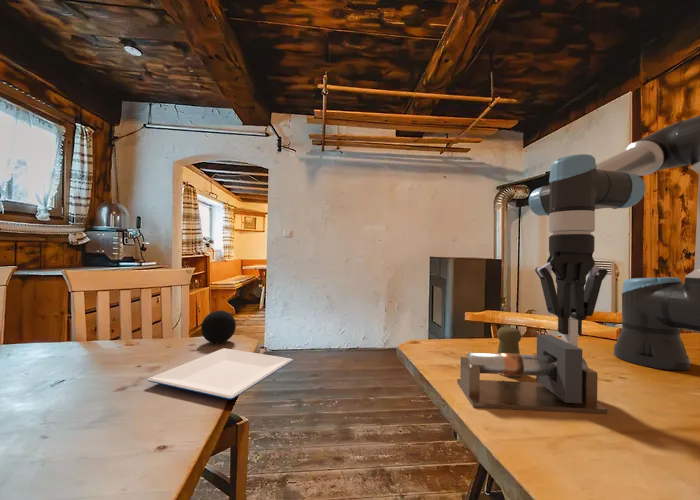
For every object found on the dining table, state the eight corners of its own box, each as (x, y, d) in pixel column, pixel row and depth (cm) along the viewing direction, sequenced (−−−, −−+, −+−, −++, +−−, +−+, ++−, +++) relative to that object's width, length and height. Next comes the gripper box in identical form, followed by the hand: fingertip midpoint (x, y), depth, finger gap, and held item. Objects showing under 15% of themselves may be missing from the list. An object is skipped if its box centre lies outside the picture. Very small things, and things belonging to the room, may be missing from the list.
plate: (145, 388, 65) (145, 378, 65) (223, 355, 86) (223, 347, 86) (231, 408, 57) (231, 397, 57) (293, 366, 78) (293, 358, 78)
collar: (550, 380, 67) (551, 334, 67) (581, 403, 57) (582, 349, 57) (536, 380, 67) (536, 334, 67) (564, 402, 57) (565, 348, 57)
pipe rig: (568, 387, 67) (569, 347, 67) (607, 413, 56) (607, 366, 56) (457, 382, 69) (457, 344, 69) (473, 407, 58) (473, 361, 58)
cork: (526, 379, 72) (527, 331, 72) (498, 376, 73) (499, 330, 73) (517, 369, 78) (518, 325, 78) (492, 367, 79) (492, 324, 79)
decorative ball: (196, 348, 90) (197, 314, 90) (205, 338, 100) (206, 308, 100) (232, 346, 92) (233, 313, 92) (237, 337, 102) (238, 307, 102)
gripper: (591, 235, 66) (589, 346, 65) (528, 234, 66) (526, 343, 66) (619, 233, 58) (618, 358, 58) (548, 232, 59) (546, 355, 59)
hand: (569, 350), depth 62 cm, fingers closed
